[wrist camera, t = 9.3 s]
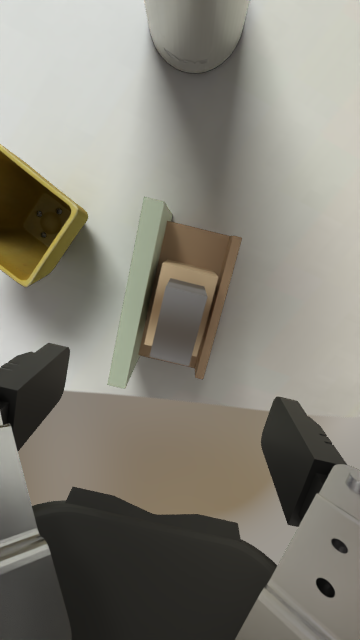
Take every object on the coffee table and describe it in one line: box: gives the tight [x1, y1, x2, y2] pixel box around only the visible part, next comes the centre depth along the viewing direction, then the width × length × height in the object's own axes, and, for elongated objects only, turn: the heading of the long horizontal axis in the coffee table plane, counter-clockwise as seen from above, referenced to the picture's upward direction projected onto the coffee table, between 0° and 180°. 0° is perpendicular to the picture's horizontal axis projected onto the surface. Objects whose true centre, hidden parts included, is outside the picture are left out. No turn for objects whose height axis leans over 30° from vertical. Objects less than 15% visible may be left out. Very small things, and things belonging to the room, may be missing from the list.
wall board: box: [107, 197, 242, 389], centre depth 31 cm, size 16×9×11 cm, turn 167°
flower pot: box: [0, 144, 88, 287], centre depth 31 cm, size 9×9×9 cm
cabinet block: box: [144, 260, 218, 366], centre depth 26 cm, size 7×5×11 cm, turn 166°
